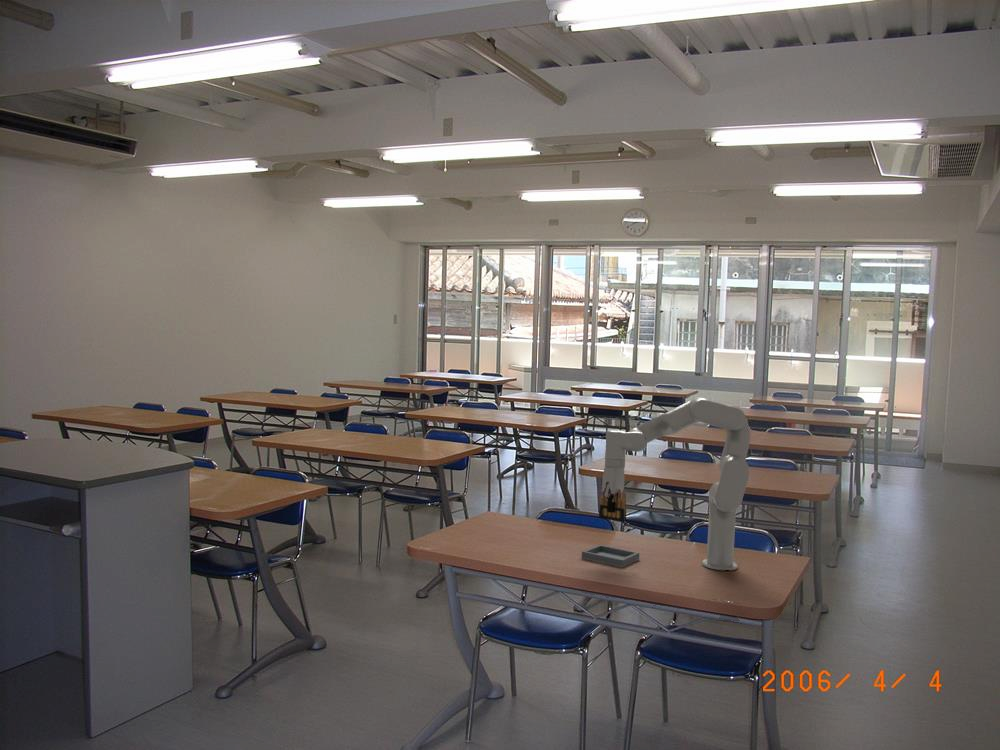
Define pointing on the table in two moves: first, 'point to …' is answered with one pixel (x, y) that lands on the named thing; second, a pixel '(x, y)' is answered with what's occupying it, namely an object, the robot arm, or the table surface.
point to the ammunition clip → (619, 509)
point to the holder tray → (610, 555)
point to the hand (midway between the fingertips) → (612, 511)
